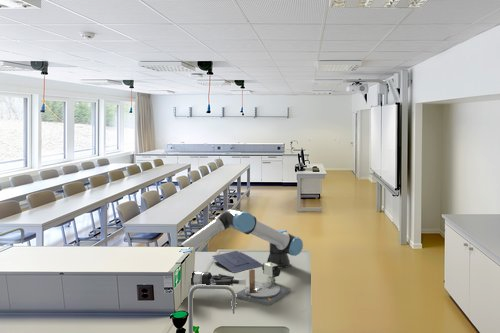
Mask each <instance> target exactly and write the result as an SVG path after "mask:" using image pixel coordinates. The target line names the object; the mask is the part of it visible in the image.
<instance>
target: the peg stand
mask: <svg viewBox="0 0 500 333" xmlns="http://www.w3.org/2000/svg"><path fill="white" fill-rule="evenodd" d="M255 275H256V269H254V268H250V269H248V277H249V284H247V285H246V286H245V287H244V289H245V294H246V295H248V296H250V297H253V298H271V297H274V296H277V295H278V294H279V293H280V287H281V286H280V285H277V284H276V283H269V282H267V281H257V282H256V276H255ZM255 282H256V283H255Z"/></svg>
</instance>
